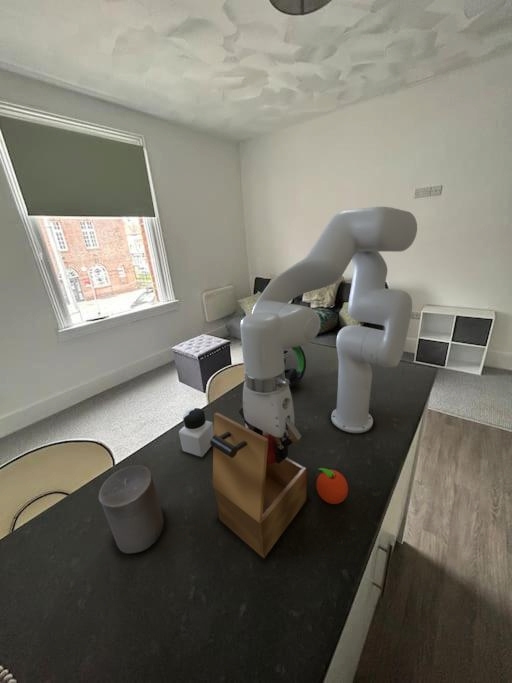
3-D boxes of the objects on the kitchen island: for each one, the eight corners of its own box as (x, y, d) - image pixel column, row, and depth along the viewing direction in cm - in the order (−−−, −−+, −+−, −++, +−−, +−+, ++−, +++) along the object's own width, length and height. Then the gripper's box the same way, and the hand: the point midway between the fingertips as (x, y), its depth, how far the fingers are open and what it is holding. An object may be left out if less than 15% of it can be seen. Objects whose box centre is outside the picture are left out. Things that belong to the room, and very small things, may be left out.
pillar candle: (149, 502, 66) (134, 453, 61) (173, 526, 60) (159, 474, 55) (107, 535, 59) (87, 483, 54) (130, 566, 53) (110, 511, 48)
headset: (270, 417, 107) (302, 360, 120) (292, 419, 95) (325, 356, 109) (237, 388, 101) (275, 332, 115) (257, 387, 90) (296, 325, 104)
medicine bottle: (215, 441, 84) (210, 408, 80) (202, 458, 78) (196, 423, 74) (196, 435, 87) (190, 403, 82) (182, 451, 81) (174, 417, 77)
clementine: (306, 493, 66) (306, 470, 63) (325, 477, 69) (326, 455, 67) (334, 517, 60) (335, 493, 57) (353, 499, 63) (355, 475, 61)
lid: (217, 412, 54) (196, 421, 50) (268, 439, 46) (248, 452, 42) (215, 484, 57) (195, 498, 54) (262, 520, 50) (243, 539, 46)
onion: (288, 465, 59) (287, 435, 56) (265, 477, 57) (262, 446, 54) (274, 448, 64) (272, 420, 61) (252, 458, 61) (249, 429, 58)
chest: (264, 473, 72) (261, 443, 68) (306, 500, 64) (306, 468, 60) (219, 519, 61) (214, 487, 57) (264, 558, 53) (261, 523, 49)
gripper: (315, 382, 50) (314, 459, 56) (244, 359, 60) (250, 427, 67) (291, 402, 45) (293, 484, 51) (219, 373, 55) (228, 445, 62)
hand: (269, 451), depth 59 cm, fingers closed on onion, 5 cm apart
